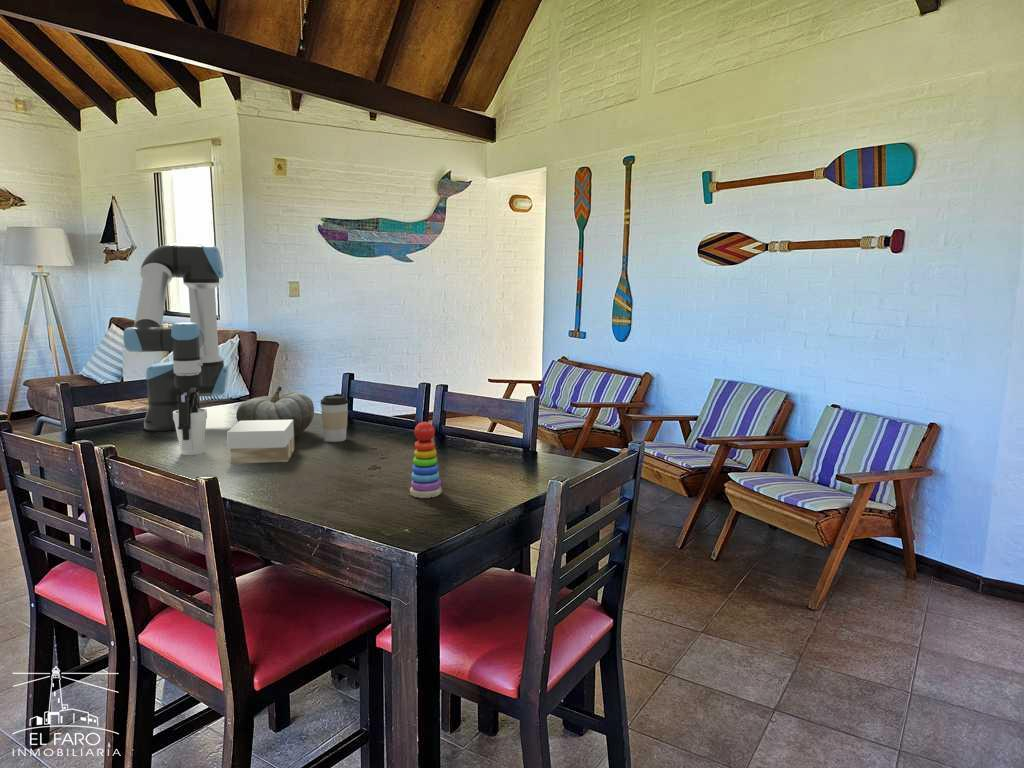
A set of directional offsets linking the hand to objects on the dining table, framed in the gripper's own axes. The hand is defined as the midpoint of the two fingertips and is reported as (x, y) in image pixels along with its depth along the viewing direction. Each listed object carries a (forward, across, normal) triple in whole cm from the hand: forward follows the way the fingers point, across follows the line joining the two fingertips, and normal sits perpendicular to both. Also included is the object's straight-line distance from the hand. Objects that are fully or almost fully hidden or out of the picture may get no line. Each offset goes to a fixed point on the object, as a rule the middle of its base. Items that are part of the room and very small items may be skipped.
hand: (192, 446), depth 211 cm
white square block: (-2, -7, -22) cm, 23 cm away
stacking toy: (+2, -52, -68) cm, 86 cm away
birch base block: (+3, -7, -22) cm, 23 cm away
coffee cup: (+2, +12, -42) cm, 44 cm away
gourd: (+2, +20, -22) cm, 30 cm away
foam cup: (+2, 0, 0) cm, 2 cm away
